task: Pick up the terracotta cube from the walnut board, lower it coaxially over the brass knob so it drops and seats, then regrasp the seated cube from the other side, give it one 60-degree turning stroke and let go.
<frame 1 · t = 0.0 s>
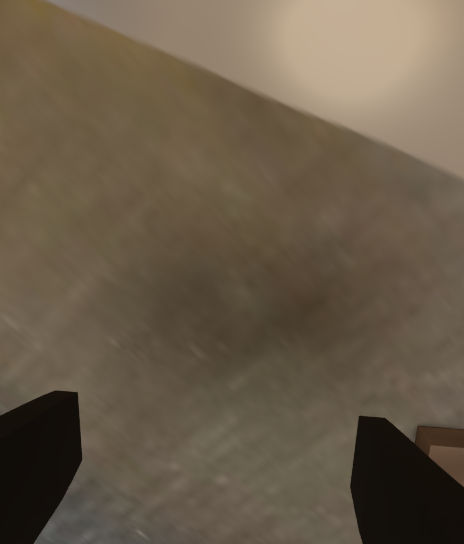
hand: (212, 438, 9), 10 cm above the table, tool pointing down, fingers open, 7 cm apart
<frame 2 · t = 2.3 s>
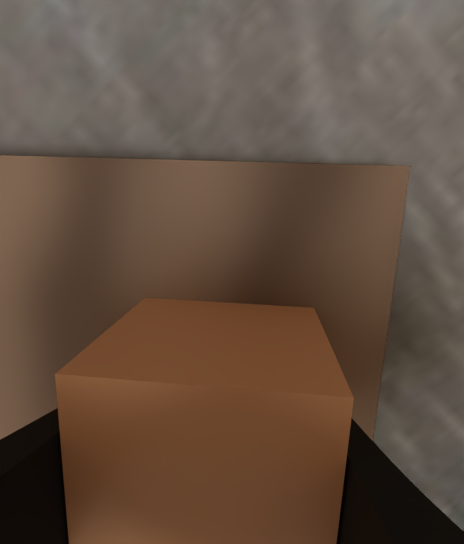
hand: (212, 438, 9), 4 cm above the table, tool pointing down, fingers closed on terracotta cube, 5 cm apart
board: (101, 350, 14), on the table
terracotta cube: (225, 379, 12), point 1 cm above the table, touching board, gripper
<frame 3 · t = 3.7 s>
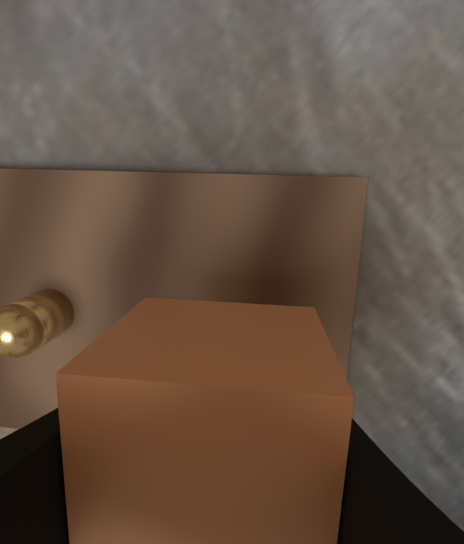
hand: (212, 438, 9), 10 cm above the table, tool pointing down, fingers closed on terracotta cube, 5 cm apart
brass knob: (67, 303, 19), resting on board
board: (156, 308, 19), on the table
terracotta cube: (225, 379, 12), point 7 cm above the table, touching gripper
when the fingers open (7 cm above the table, at t = 5.4 s): terracotta cube drops 3 cm, resting on board.
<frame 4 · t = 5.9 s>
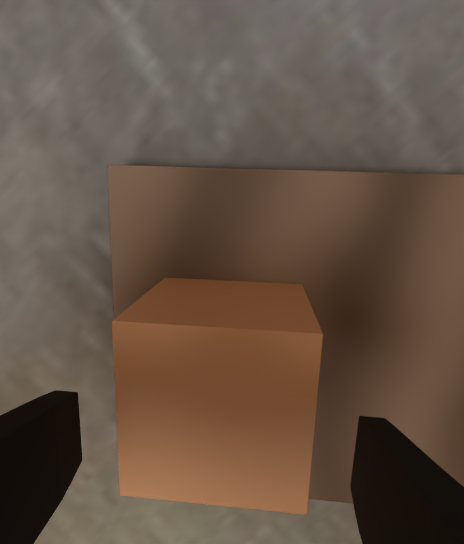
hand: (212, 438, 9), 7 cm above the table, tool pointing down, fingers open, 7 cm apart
board: (349, 339, 15), on the table
terracotta cube: (230, 344, 14), point 1 cm above the table, touching board
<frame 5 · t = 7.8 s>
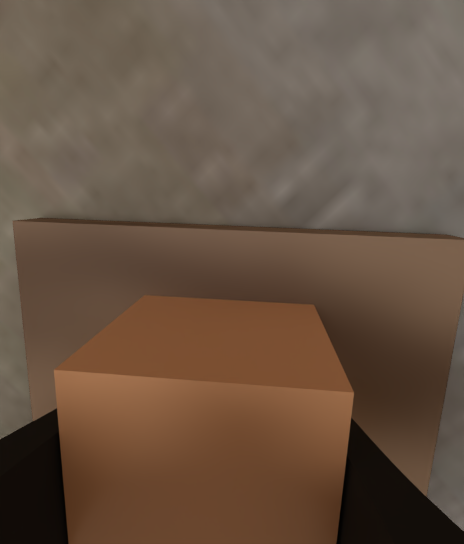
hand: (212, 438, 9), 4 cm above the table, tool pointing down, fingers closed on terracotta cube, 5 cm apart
board: (225, 473, 14), on the table
terracotta cube: (225, 377, 12), point 2 cm above the table, touching board, gripper
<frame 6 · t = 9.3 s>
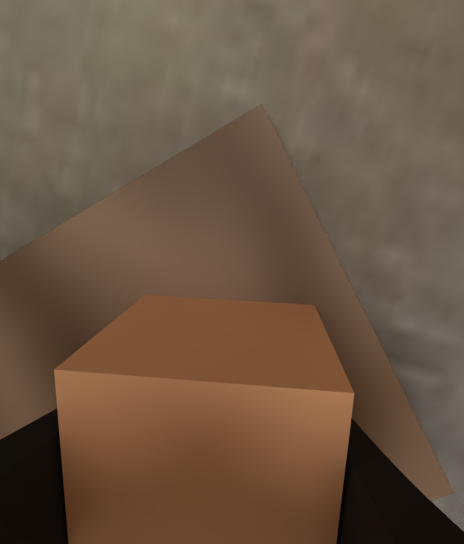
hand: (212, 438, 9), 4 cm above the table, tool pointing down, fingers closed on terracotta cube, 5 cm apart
board: (120, 410, 14), on the table
terracotta cube: (225, 377, 12), point 2 cm above the table, touching gripper
when the fingers open (4 cm above the table, at t = 10.1 s): terracotta cube stays where it is, resting on board.
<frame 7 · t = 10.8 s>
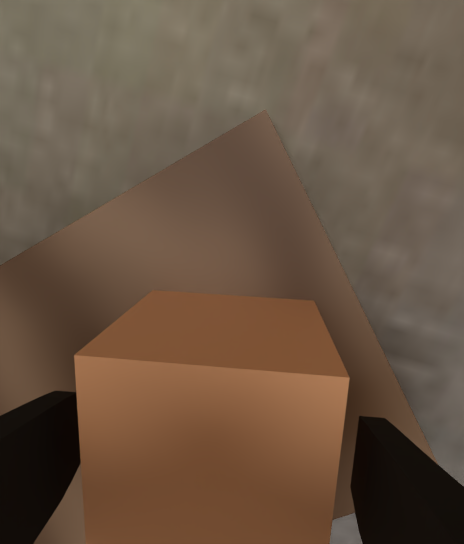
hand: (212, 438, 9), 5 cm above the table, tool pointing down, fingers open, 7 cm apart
board: (127, 401, 15), on the table
terracotta cube: (228, 369, 12), point 1 cm above the table, touching board
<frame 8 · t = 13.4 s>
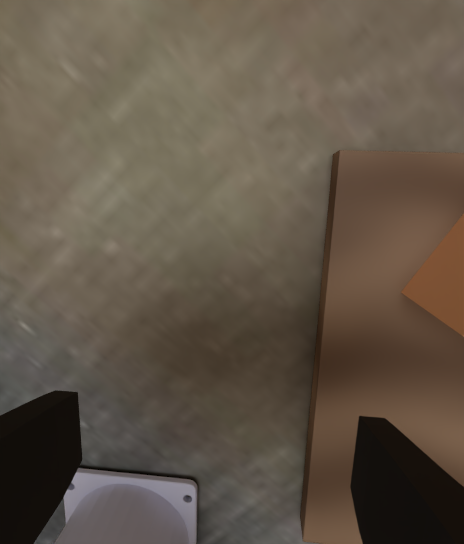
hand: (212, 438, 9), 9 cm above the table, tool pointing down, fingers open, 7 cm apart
board: (456, 366, 18), on the table
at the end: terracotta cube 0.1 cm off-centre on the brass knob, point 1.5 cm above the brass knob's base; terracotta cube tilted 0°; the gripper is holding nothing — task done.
